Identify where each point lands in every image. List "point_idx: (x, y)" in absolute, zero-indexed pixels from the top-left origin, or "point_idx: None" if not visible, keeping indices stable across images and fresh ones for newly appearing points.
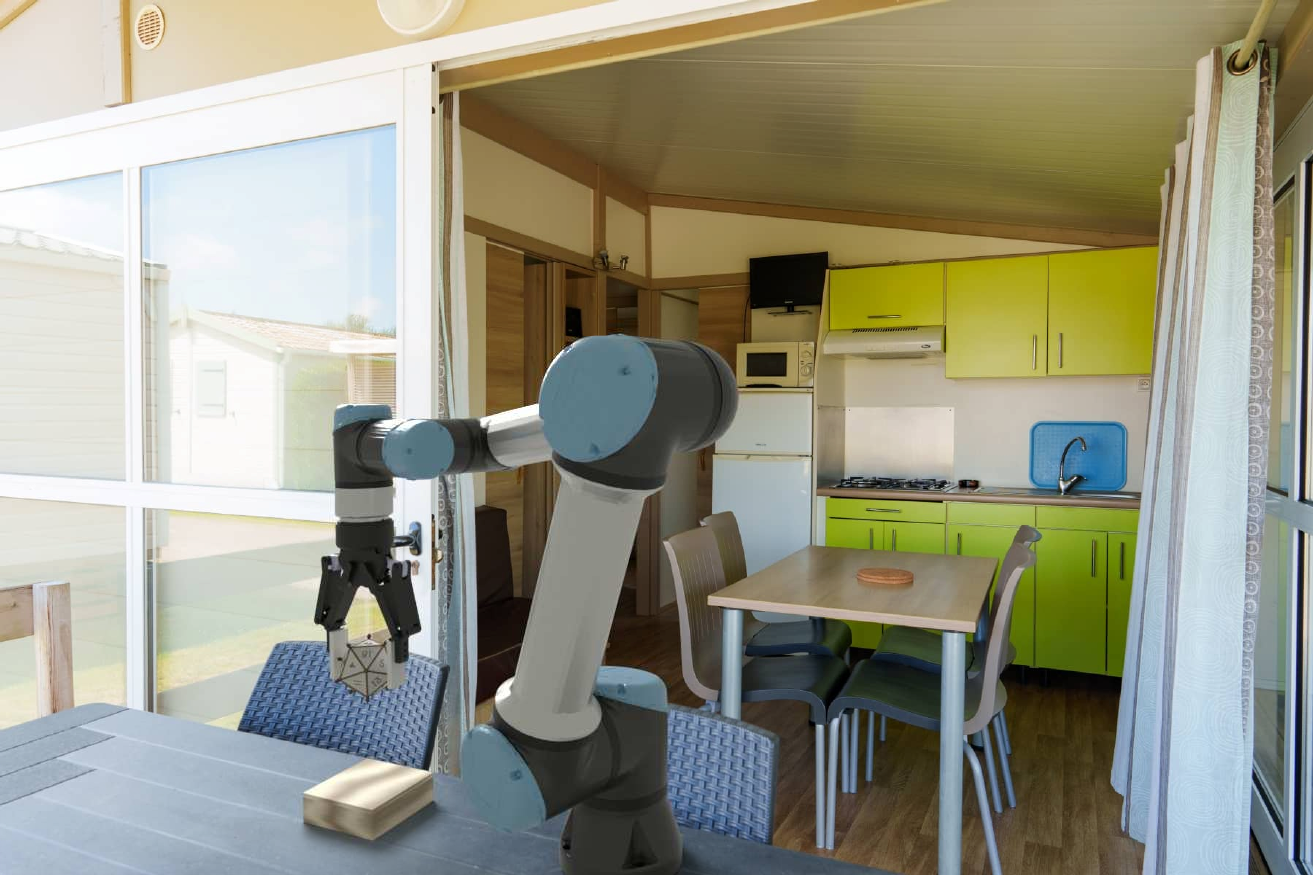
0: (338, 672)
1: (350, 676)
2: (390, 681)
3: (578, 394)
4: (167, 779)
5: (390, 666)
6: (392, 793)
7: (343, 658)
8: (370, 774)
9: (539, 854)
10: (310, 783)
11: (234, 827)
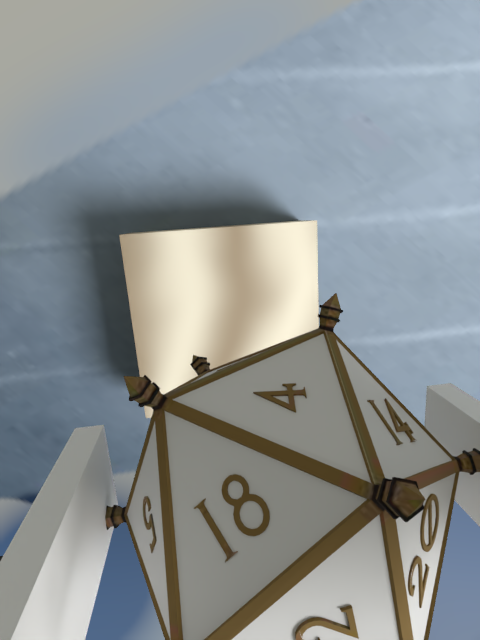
0: (440, 422)
1: (263, 352)
2: (70, 448)
3: None
4: None
5: (37, 508)
6: (143, 310)
7: (443, 461)
8: (256, 349)
9: None
10: (402, 329)
11: (397, 144)
